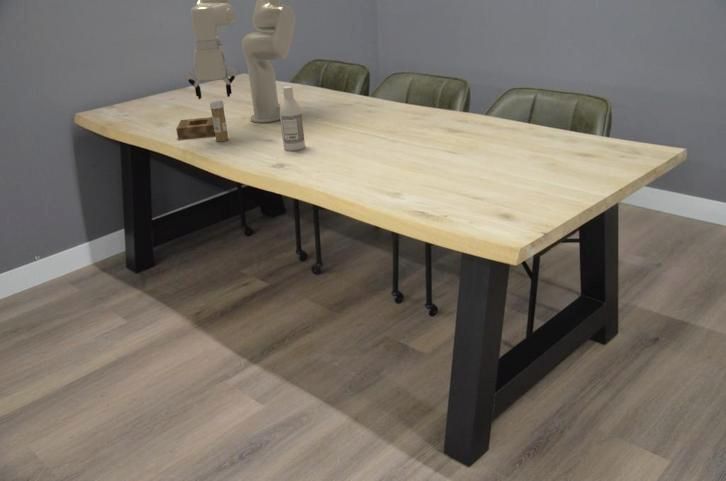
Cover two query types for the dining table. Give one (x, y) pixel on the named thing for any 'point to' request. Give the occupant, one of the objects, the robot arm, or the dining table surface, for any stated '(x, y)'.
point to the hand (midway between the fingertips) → (214, 97)
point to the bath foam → (291, 122)
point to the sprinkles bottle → (219, 120)
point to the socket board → (195, 128)
